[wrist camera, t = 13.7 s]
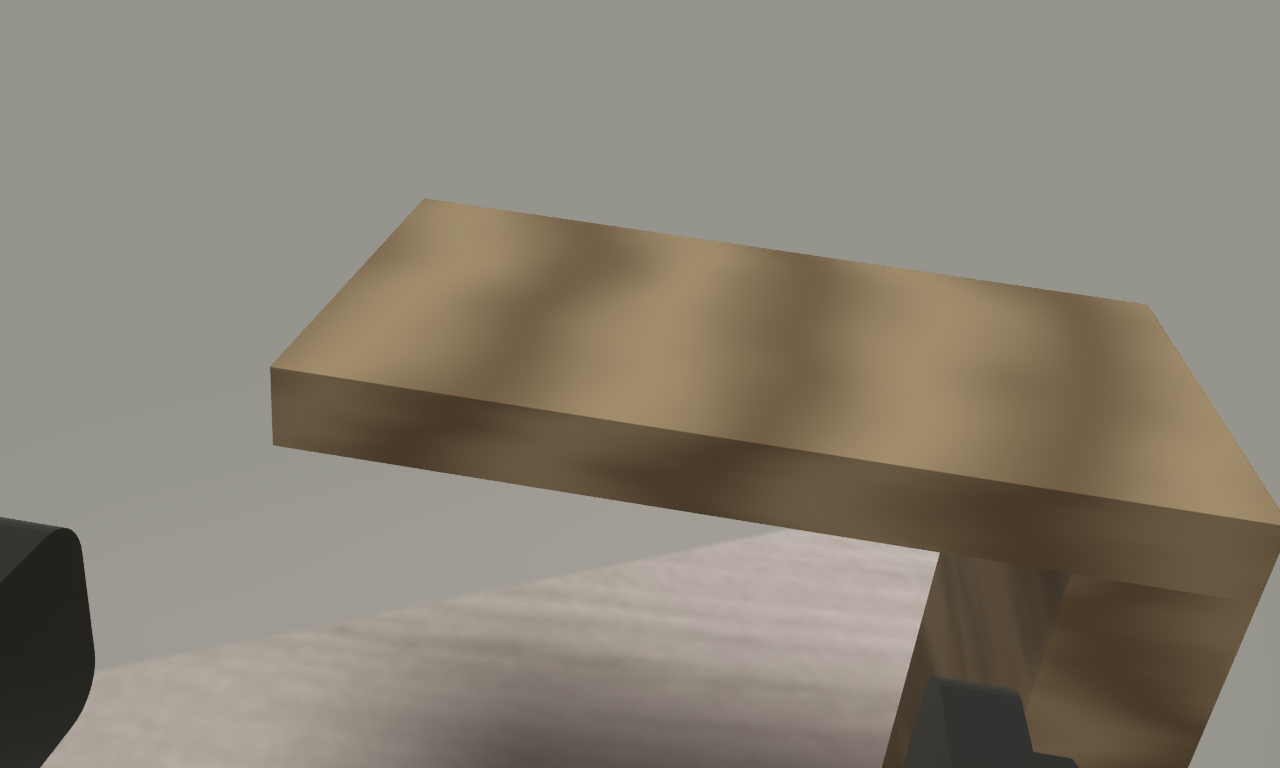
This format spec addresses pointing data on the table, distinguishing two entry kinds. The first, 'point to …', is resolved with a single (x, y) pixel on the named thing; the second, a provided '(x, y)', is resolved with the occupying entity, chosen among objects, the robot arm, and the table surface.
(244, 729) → the table surface
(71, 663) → the robot arm
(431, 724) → the table surface
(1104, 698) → the shelf
